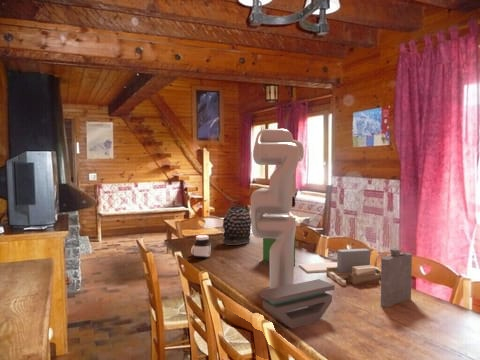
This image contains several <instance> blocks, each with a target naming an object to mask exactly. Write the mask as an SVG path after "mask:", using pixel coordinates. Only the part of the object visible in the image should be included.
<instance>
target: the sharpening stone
mask: <svg viewBox="0 0 480 360" xmlns="http://www.w3.org/2000/svg"><path fill="white" fill-rule="evenodd" d="M335 288H336V287H335V284H333V283H330V282H328V281H325V280H322V279H319V278H317V279H312V280H308V281H303V282H298V283H294V284H292V285H288V286H283V287H278V288H273V289H268V290H266V289H264V290H260V291H259V297H261V298H263V299H264V300H262V308H263V309H264V310H265V311H267V312H268V313H269V314H270V315H271V316H272V317H273V318H275V320H277V321H278V322H280V323H281V324H283V325H285V326H287V327H288V328H290V329H294V328H298V327H302V326H306V325H309V324H312V323H316V322H319V321H320V320H321V319H322V317H323V316H324V314H325V313H326V311H327V310H328V308H329V307H330V306H331V304H332V303H333V295H332V294H331V293H328V292H331V291H335Z"/></svg>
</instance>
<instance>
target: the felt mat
mask: <svg viewBox="0 0 480 360" xmlns="http://www.w3.org/2000/svg"><path fill="white" fill-rule="evenodd" d="M298 267H299V268H301V269H302V271H304V272H306V273H307V274H310V273H311V274H313V273H314V274H315V273H327V267H337V261H334V262H332V261H331V262H315V263H314V262H313V263H298Z"/></svg>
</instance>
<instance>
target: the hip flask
mask: <svg viewBox="0 0 480 360" xmlns="http://www.w3.org/2000/svg"><path fill="white" fill-rule="evenodd" d="M401 250H402V249H400V248H395V247H394V248H390V249H389V252H390V254H389V255H385V256H383V257H381V258H380V259H381V264H380V265H381V267H380V269H381V279H380V307H382V308H390V307H393V306H394V305H397V304H399V303H404V302H409V301H411V300H412V269H413V268H412V266H413V264H412V263H413V261H412V260H413V257H412V256H413V254H412V253H411V252H402V251H401Z"/></svg>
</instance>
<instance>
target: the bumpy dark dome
mask: <svg viewBox="0 0 480 360" xmlns="http://www.w3.org/2000/svg"><path fill="white" fill-rule="evenodd" d="M222 227H223V233H222V237H223V238H224V239H223V243H224V245H230V246H231V245H234V246H235V245H242V244H247V243H250V241H251V238H250V236H251V234H252V233H251V232H252V226H251V205H250V204H246V205H243V204H242V205H233V204H231V205H230V208H229V209H228V210H227V212H226V214H224V218H223V221H222Z"/></svg>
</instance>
